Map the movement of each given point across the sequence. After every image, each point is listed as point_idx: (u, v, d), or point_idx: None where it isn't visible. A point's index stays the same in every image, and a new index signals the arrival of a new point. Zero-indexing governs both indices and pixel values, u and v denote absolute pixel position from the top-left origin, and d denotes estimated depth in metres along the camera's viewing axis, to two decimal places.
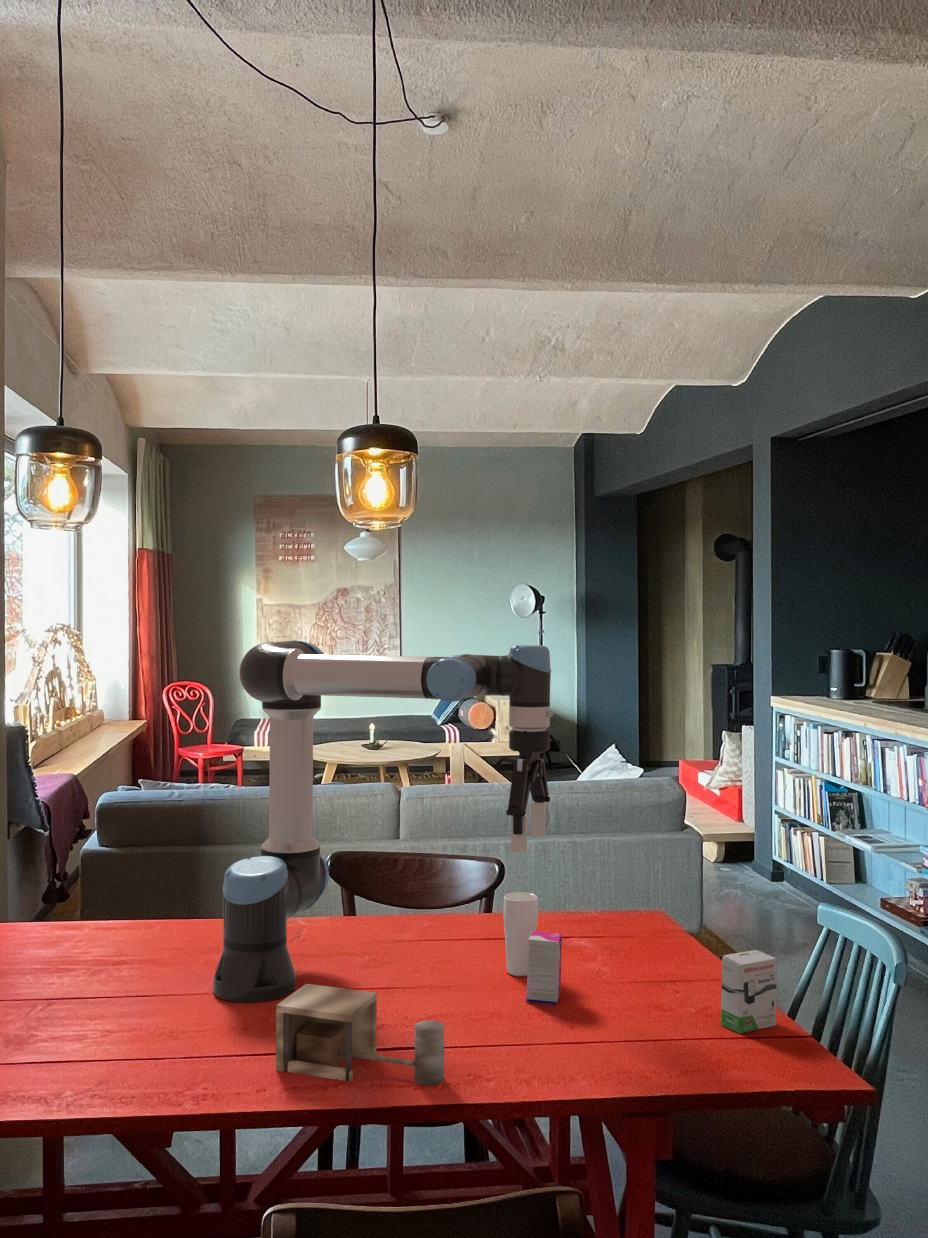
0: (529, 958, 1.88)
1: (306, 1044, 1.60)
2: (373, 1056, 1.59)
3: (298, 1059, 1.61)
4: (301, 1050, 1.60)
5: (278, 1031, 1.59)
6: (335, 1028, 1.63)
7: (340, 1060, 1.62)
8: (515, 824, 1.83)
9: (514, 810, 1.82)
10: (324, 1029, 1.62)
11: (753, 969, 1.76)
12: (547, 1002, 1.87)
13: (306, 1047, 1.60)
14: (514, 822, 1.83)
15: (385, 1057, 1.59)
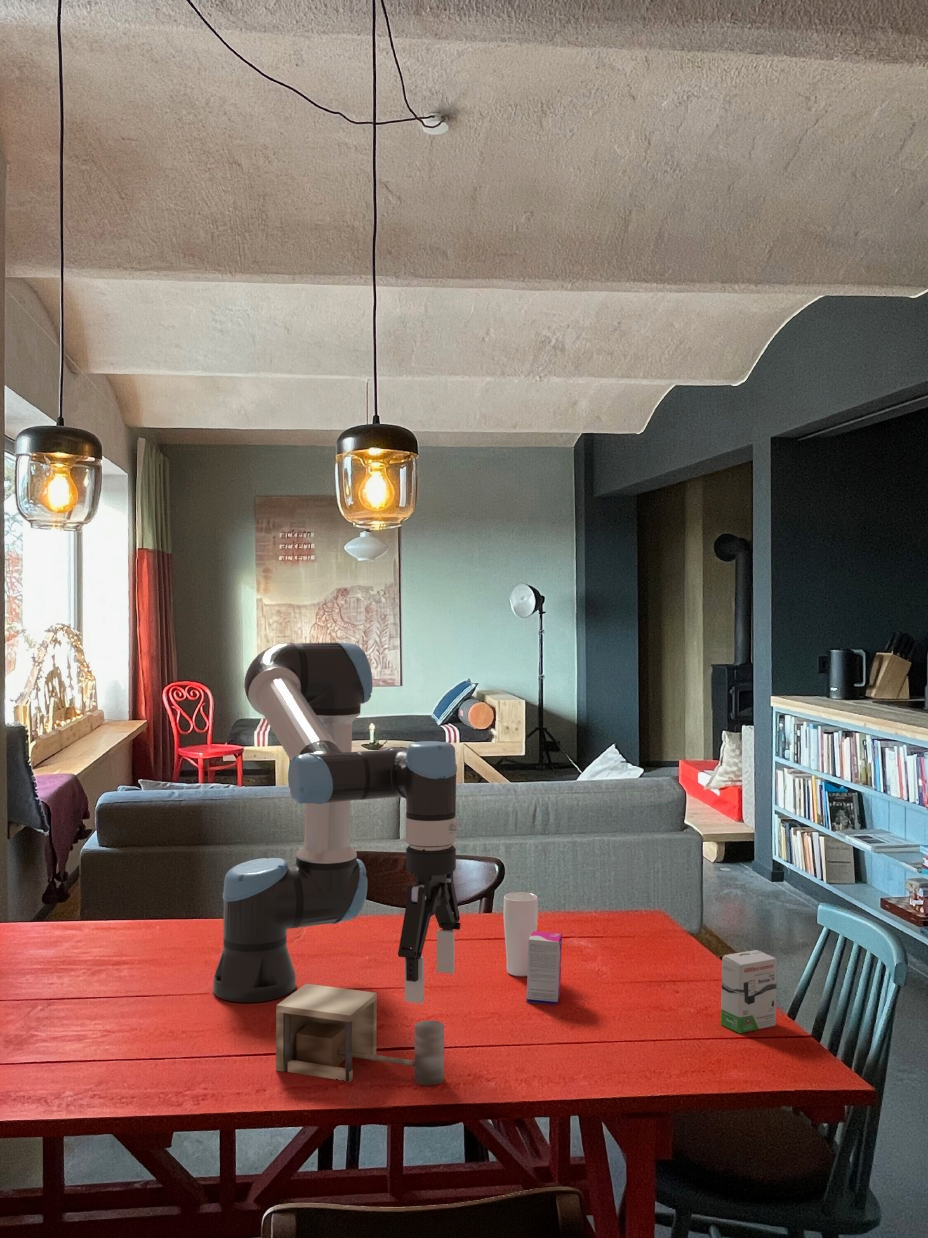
0: (529, 958, 1.88)
1: (306, 1044, 1.60)
2: (373, 1056, 1.59)
3: (298, 1059, 1.61)
4: (301, 1050, 1.60)
5: (278, 1031, 1.59)
6: (335, 1028, 1.63)
7: (340, 1060, 1.62)
8: (408, 969, 1.49)
9: (406, 953, 1.47)
10: (324, 1029, 1.62)
11: (753, 969, 1.76)
12: (547, 1002, 1.87)
13: (306, 1047, 1.60)
14: (407, 966, 1.49)
15: (385, 1057, 1.59)
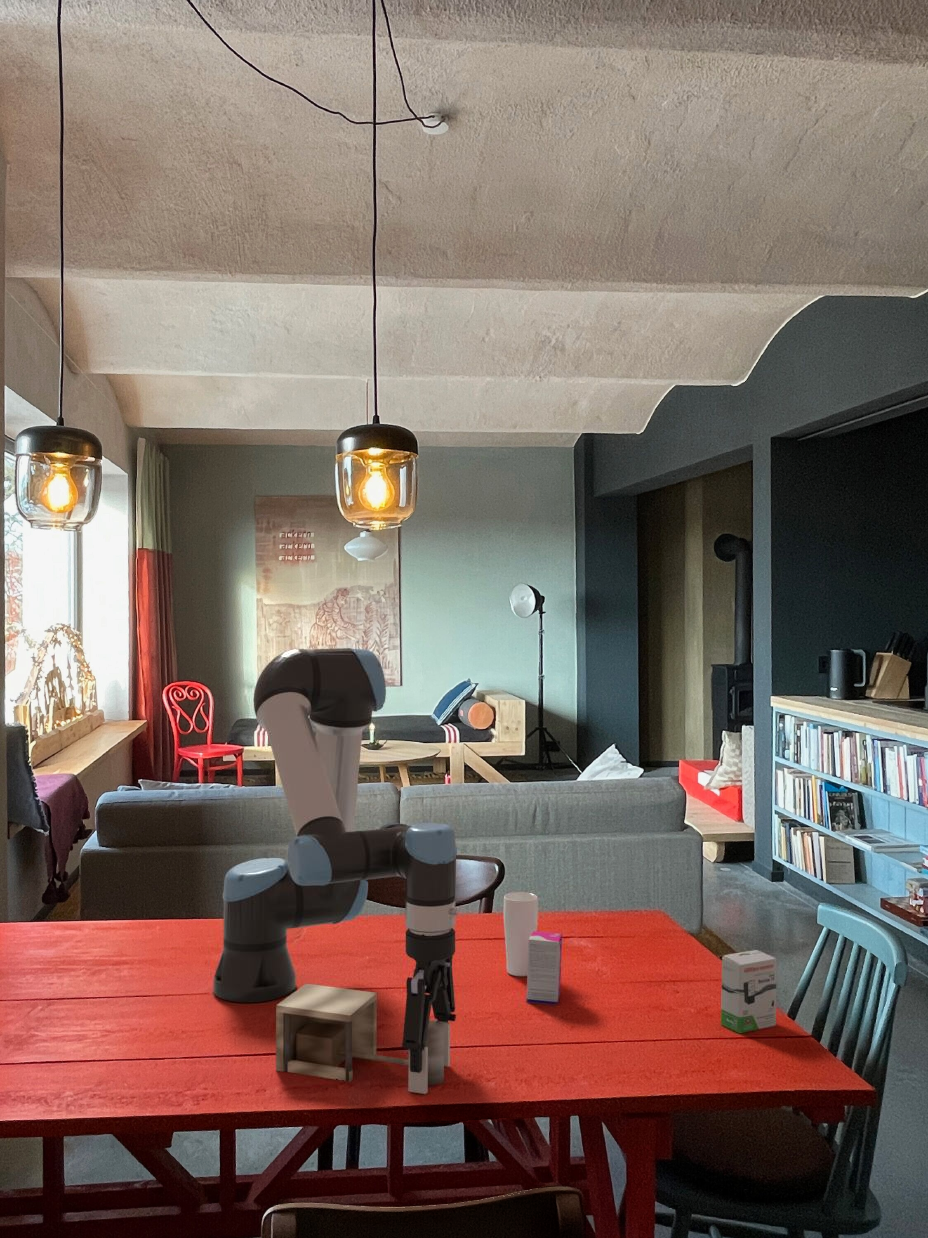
0: (529, 958, 1.88)
1: (306, 1044, 1.60)
2: (373, 1056, 1.59)
3: (298, 1059, 1.61)
4: (301, 1050, 1.60)
5: (278, 1031, 1.59)
6: (335, 1028, 1.63)
7: (340, 1060, 1.62)
8: (412, 1060, 1.50)
9: (410, 1046, 1.49)
10: (324, 1029, 1.62)
11: (753, 969, 1.76)
12: (547, 1002, 1.87)
13: (306, 1047, 1.60)
14: (411, 1057, 1.50)
15: (385, 1057, 1.59)
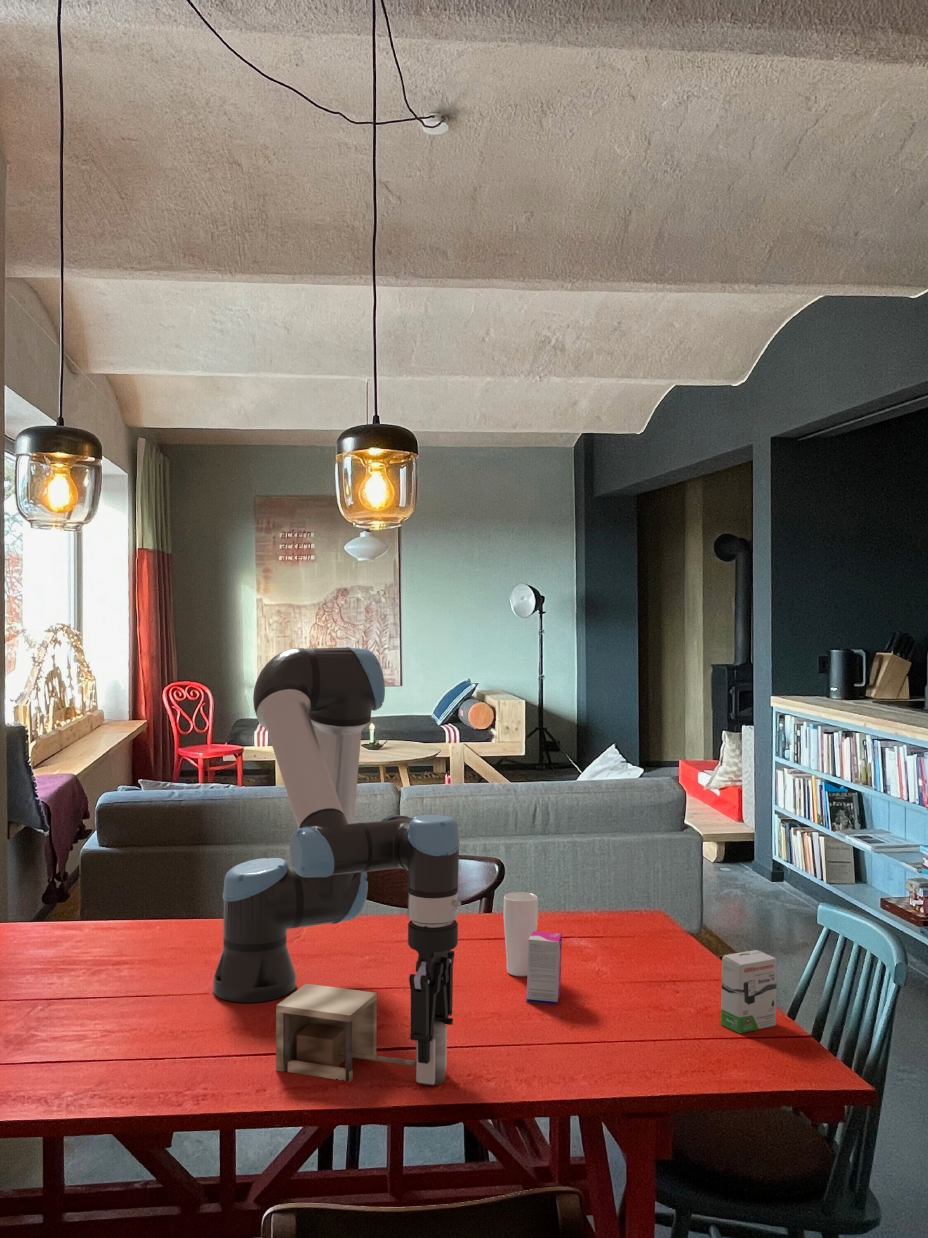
0: (529, 958, 1.88)
1: (306, 1045, 1.60)
2: (374, 1057, 1.59)
3: (298, 1060, 1.60)
4: (301, 1051, 1.60)
5: (278, 1031, 1.59)
6: (335, 1029, 1.62)
7: (340, 1061, 1.61)
8: (420, 1051, 1.53)
9: (418, 1039, 1.51)
10: (324, 1030, 1.62)
11: (753, 969, 1.76)
12: (547, 1002, 1.87)
13: (306, 1049, 1.60)
14: (419, 1049, 1.53)
15: (386, 1057, 1.58)
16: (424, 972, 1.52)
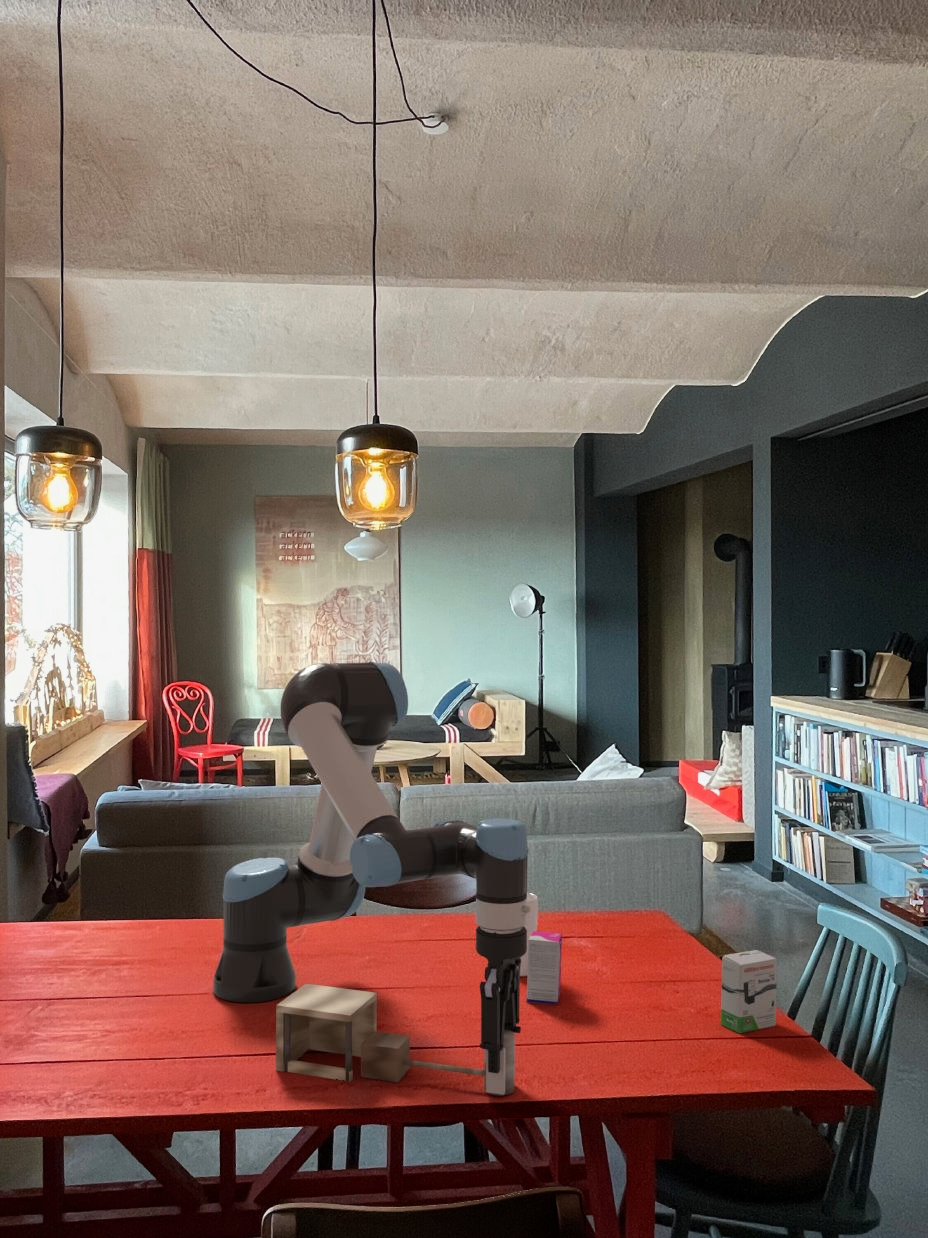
0: (529, 958, 1.88)
1: (371, 1054, 1.56)
2: (440, 1066, 1.55)
3: (362, 1070, 1.57)
4: (366, 1060, 1.56)
5: (278, 1031, 1.59)
6: (399, 1037, 1.59)
7: (405, 1070, 1.58)
8: (490, 1060, 1.49)
9: (489, 1048, 1.47)
10: (388, 1039, 1.59)
11: (753, 969, 1.76)
12: (547, 1002, 1.87)
13: (371, 1058, 1.56)
14: (489, 1058, 1.49)
15: (453, 1067, 1.55)
16: (494, 980, 1.48)
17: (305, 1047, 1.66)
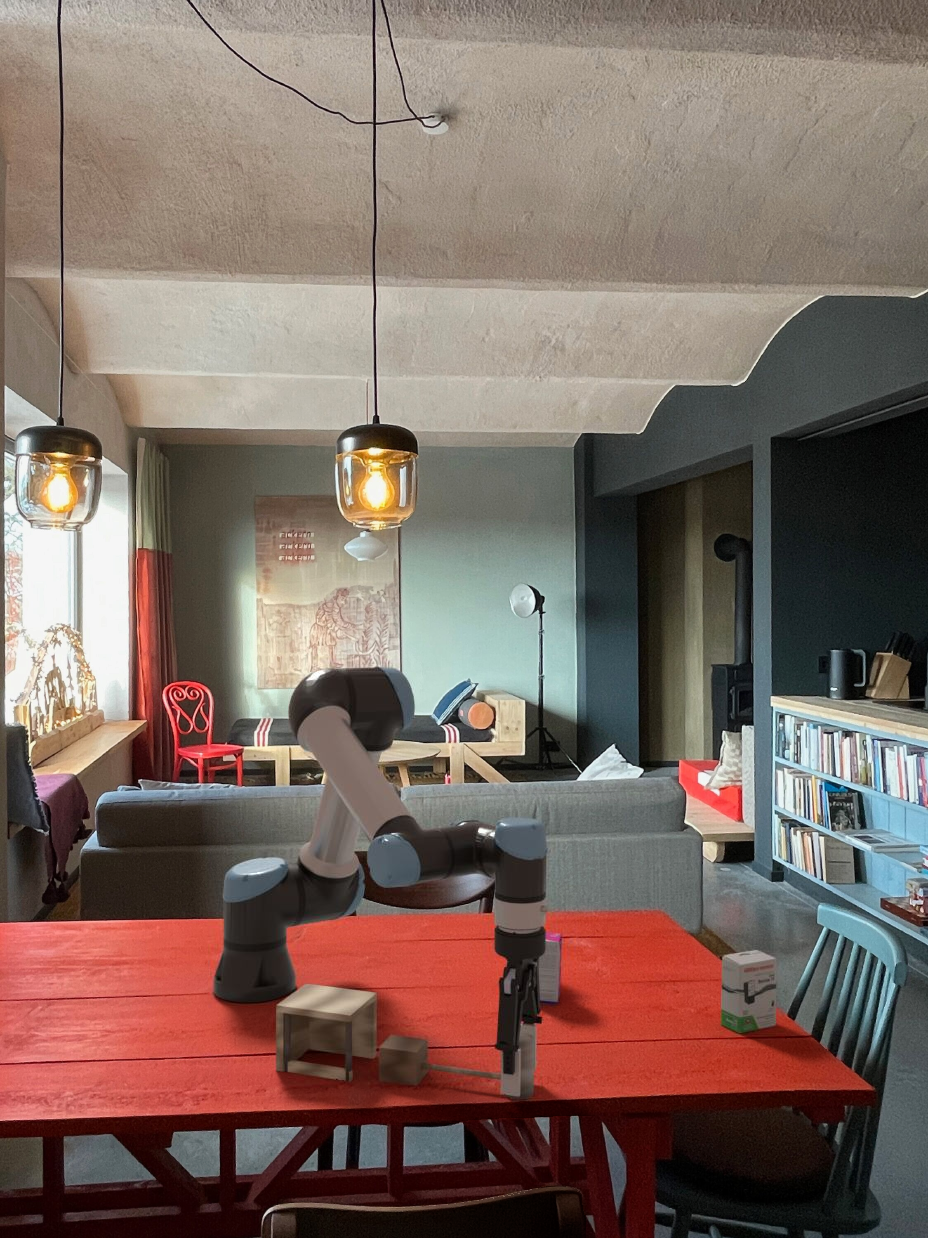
0: None
1: (389, 1058, 1.55)
2: (459, 1070, 1.54)
3: (381, 1073, 1.56)
4: (384, 1064, 1.56)
5: (278, 1031, 1.59)
6: (417, 1041, 1.58)
7: (423, 1074, 1.57)
8: (505, 1062, 1.46)
9: (504, 1048, 1.45)
10: (406, 1042, 1.58)
11: (753, 969, 1.76)
12: (547, 1002, 1.87)
13: (389, 1061, 1.55)
14: (504, 1059, 1.46)
15: (472, 1071, 1.54)
16: (514, 977, 1.47)
17: (305, 1047, 1.66)
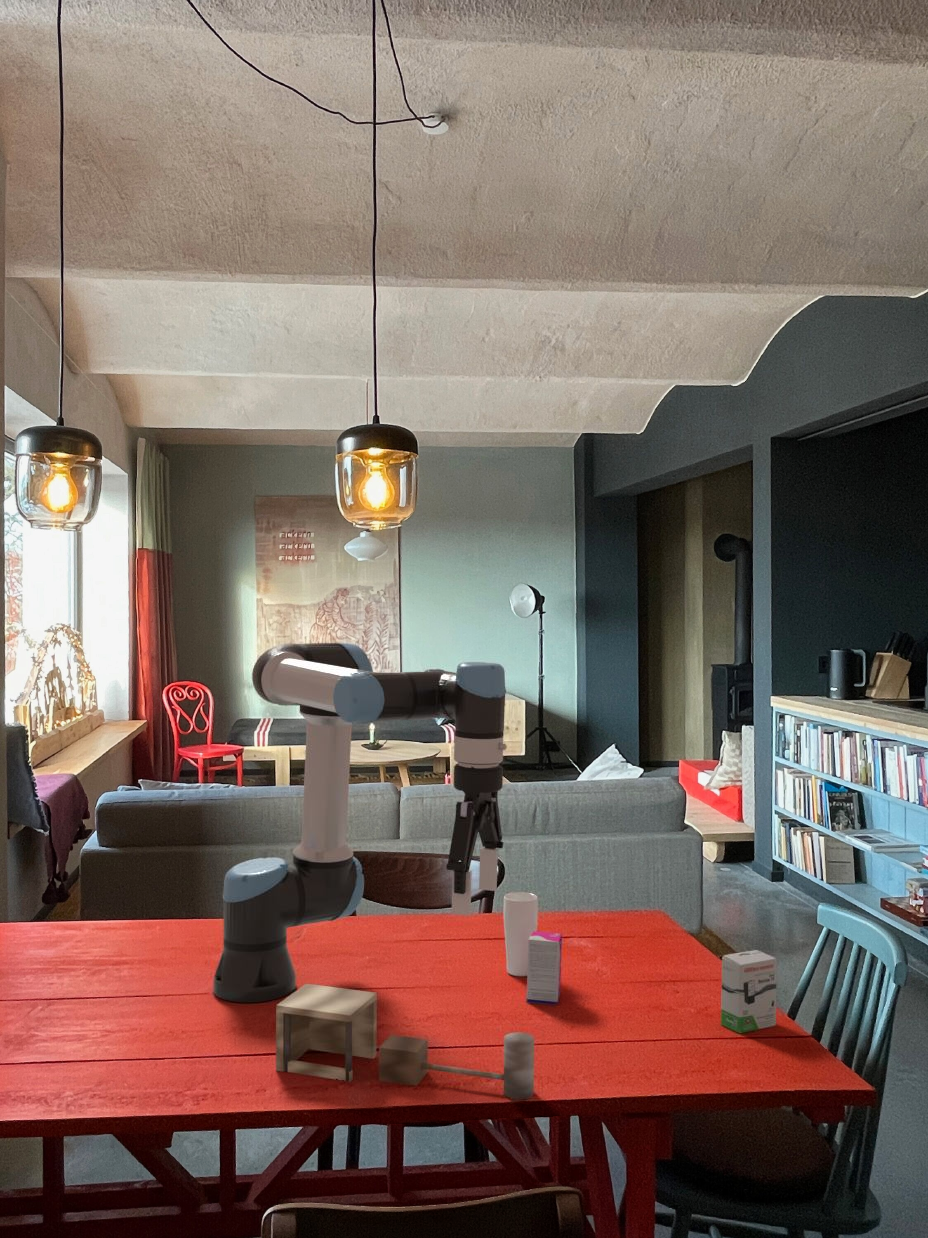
0: (529, 958, 1.88)
1: (389, 1058, 1.55)
2: (459, 1070, 1.54)
3: (381, 1073, 1.56)
4: (384, 1064, 1.56)
5: (278, 1031, 1.59)
6: (417, 1041, 1.58)
7: (423, 1074, 1.57)
8: (456, 881, 1.52)
9: (455, 865, 1.50)
10: (406, 1042, 1.58)
11: (753, 969, 1.76)
12: (547, 1002, 1.87)
13: (389, 1061, 1.55)
14: (455, 879, 1.52)
15: (472, 1071, 1.54)
16: None
17: (305, 1047, 1.66)
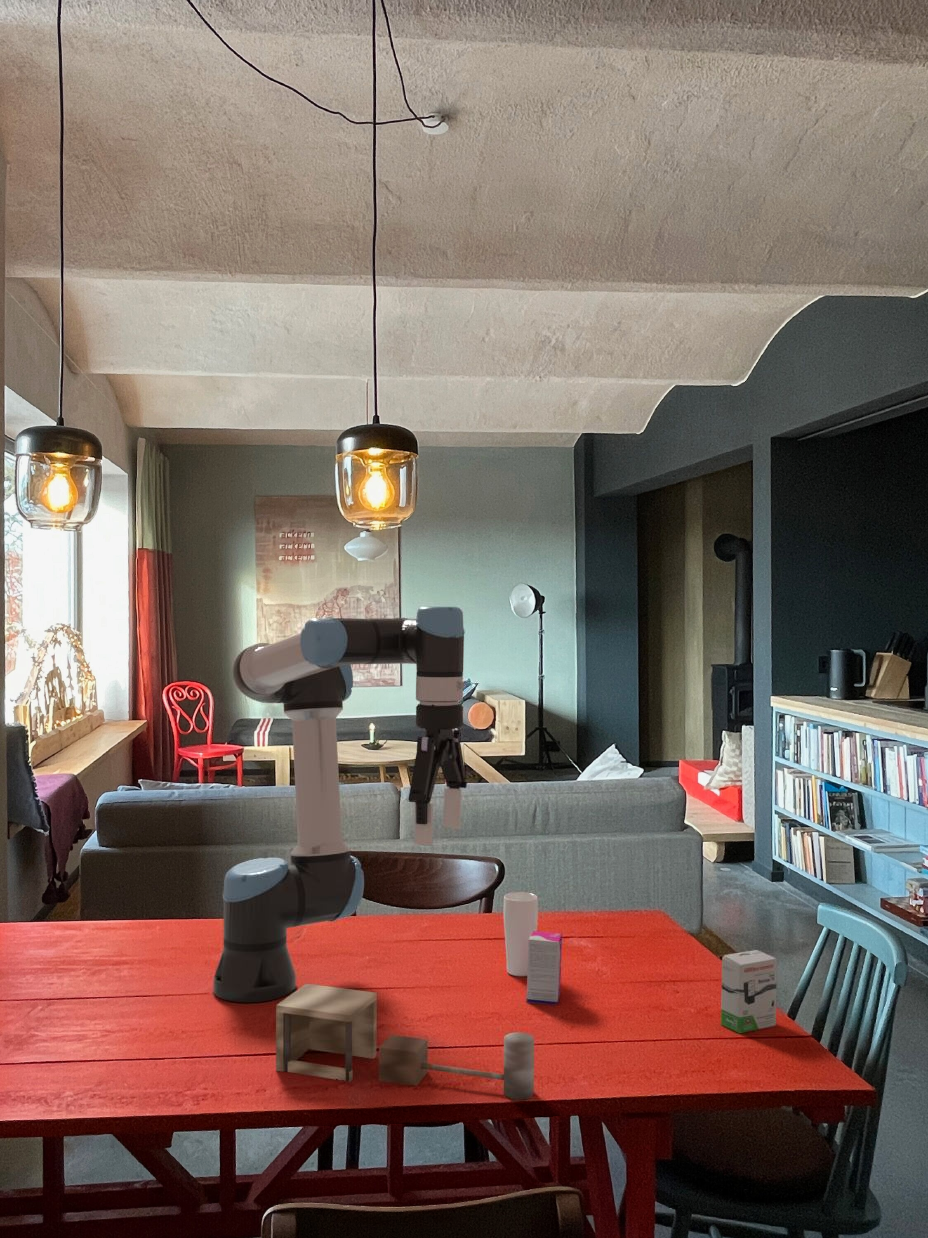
0: (529, 958, 1.88)
1: (389, 1058, 1.55)
2: (459, 1070, 1.54)
3: (381, 1073, 1.56)
4: (384, 1064, 1.56)
5: (278, 1031, 1.59)
6: (417, 1041, 1.58)
7: (423, 1074, 1.57)
8: (418, 812, 1.58)
9: (416, 796, 1.56)
10: (406, 1042, 1.58)
11: (753, 969, 1.76)
12: (547, 1002, 1.87)
13: (389, 1061, 1.55)
14: (417, 810, 1.58)
15: (472, 1071, 1.54)
16: None
17: (305, 1047, 1.66)
